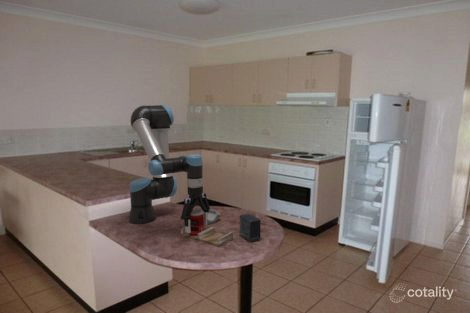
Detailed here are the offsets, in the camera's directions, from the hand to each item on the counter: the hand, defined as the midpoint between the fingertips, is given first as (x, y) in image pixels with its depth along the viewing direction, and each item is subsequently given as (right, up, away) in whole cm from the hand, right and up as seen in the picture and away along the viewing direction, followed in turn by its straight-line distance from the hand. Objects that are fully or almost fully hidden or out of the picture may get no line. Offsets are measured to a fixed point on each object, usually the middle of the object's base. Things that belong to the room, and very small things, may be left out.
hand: (196, 228), depth 165 cm
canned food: (0, -3, 0) cm, 3 cm away
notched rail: (+5, -4, -2) cm, 7 cm away
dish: (+2, -1, +22) cm, 22 cm away
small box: (+27, -4, -3) cm, 27 cm away
